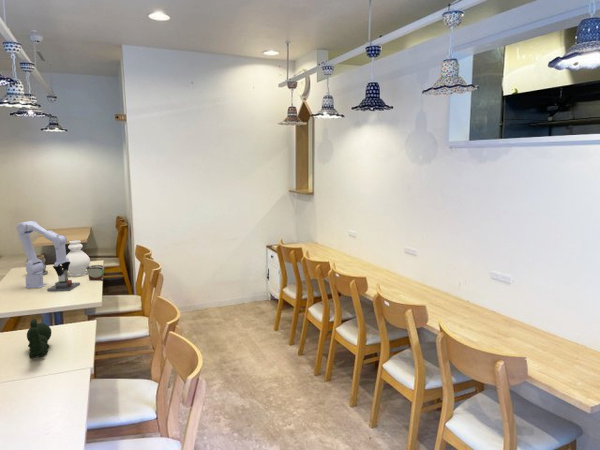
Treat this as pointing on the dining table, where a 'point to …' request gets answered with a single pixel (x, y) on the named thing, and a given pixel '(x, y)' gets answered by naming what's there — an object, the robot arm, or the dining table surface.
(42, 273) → the tankard
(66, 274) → the block
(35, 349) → the dark green bumpy clump
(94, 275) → the food container
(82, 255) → the decorative vase
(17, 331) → the dining table surface
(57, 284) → the base
